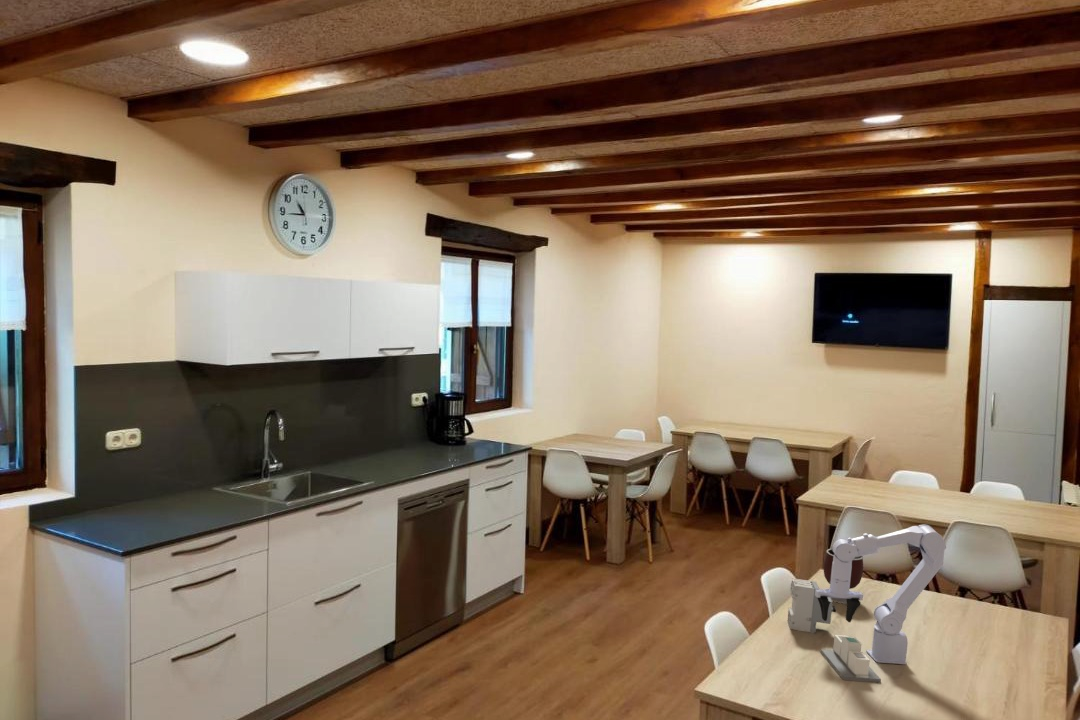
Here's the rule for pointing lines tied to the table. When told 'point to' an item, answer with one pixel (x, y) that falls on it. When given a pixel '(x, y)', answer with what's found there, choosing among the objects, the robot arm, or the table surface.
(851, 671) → the board
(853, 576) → the mate gourd
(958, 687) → the table surface
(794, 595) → the circuit breaker
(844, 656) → the block
